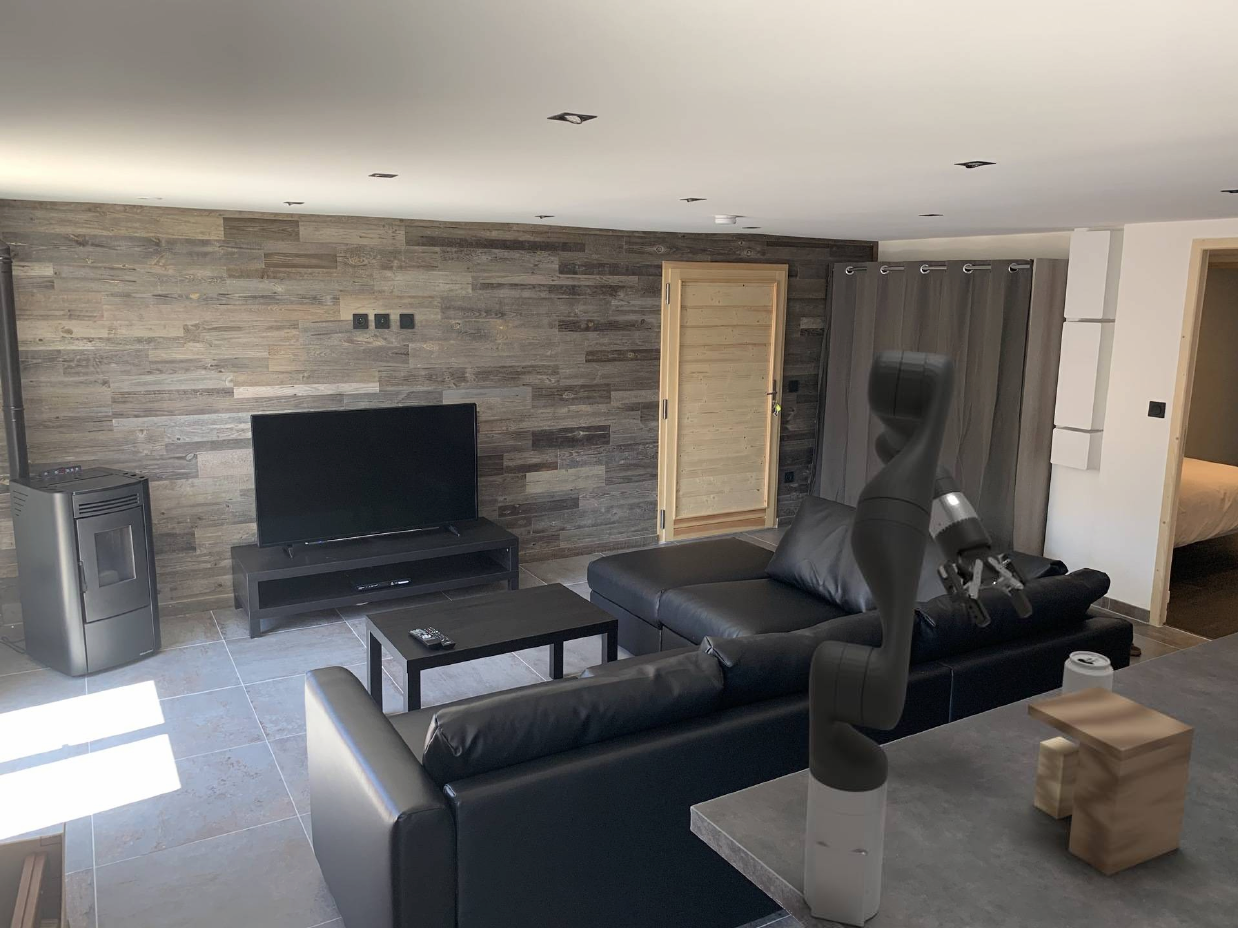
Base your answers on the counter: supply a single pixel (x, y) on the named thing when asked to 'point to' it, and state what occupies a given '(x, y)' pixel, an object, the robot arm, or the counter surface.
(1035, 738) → the counter surface
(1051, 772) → the oak block
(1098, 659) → the can
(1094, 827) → the walnut shelf
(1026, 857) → the counter surface
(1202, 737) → the counter surface
